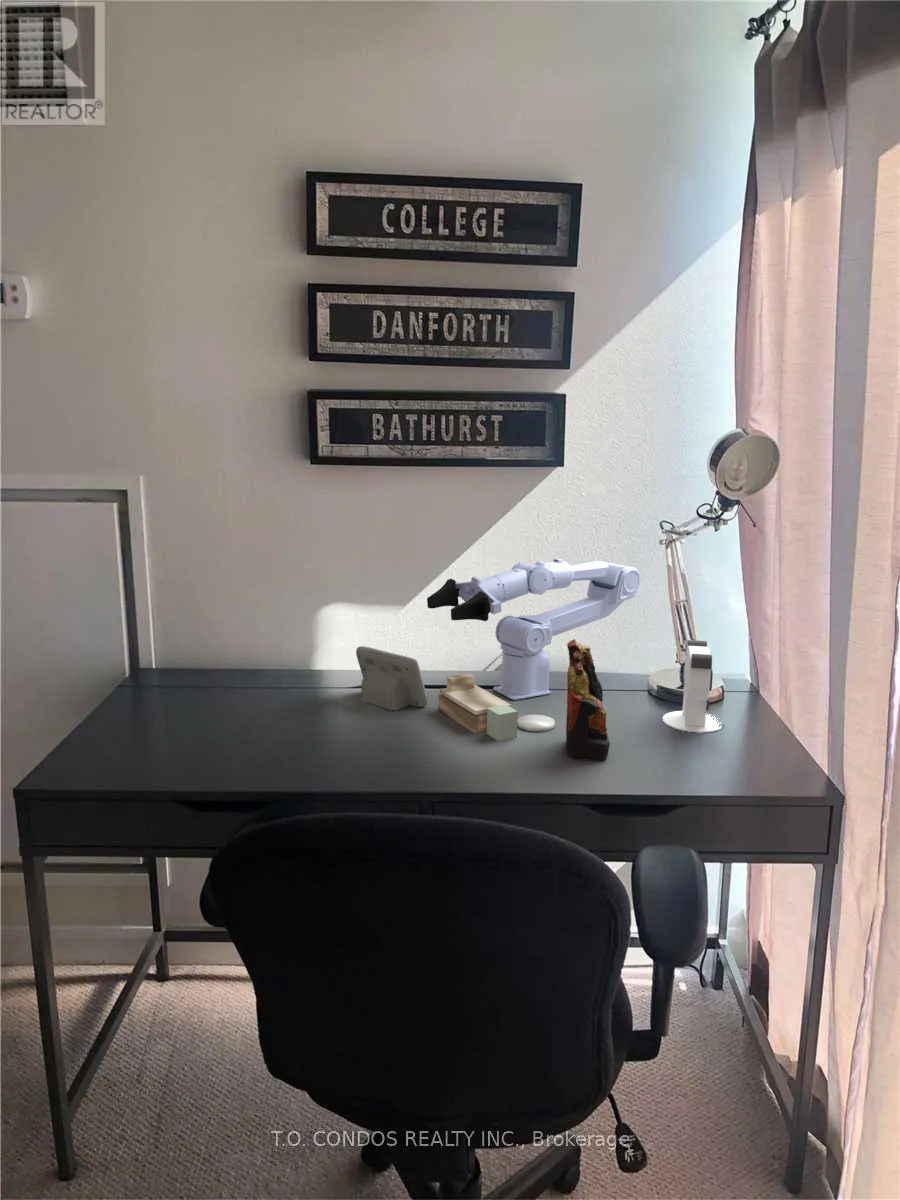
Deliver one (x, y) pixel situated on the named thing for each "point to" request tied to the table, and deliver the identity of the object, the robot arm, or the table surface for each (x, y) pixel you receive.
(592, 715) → the statue
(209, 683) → the table surface
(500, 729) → the green block
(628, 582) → the robot arm
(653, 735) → the table surface
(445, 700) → the pencil box
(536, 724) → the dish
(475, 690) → the lid
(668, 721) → the white post on disc
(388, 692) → the digital clock
